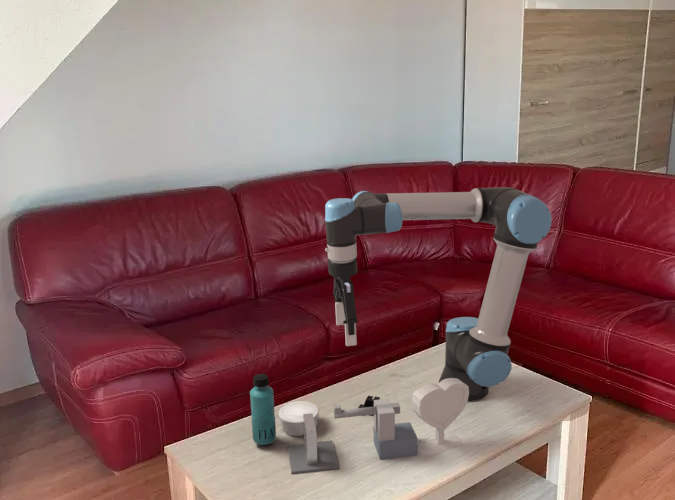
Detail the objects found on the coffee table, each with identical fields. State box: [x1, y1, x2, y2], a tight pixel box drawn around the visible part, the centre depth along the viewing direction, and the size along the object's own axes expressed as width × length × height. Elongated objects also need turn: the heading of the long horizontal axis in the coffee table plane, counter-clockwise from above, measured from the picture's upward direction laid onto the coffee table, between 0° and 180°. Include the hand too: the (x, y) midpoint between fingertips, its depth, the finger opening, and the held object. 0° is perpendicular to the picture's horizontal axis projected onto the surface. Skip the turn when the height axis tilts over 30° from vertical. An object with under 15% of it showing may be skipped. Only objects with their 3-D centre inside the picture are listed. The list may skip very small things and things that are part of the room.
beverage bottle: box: [249, 373, 277, 446], centre depth 178 cm, size 6×7×20 cm
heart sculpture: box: [411, 378, 469, 456], centre depth 176 cm, size 16×5×18 cm, turn 117°
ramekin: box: [278, 400, 320, 437], centre depth 188 cm, size 11×11×5 cm
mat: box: [287, 440, 340, 475], centre depth 174 cm, size 12×12×1 cm
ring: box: [303, 413, 318, 465], centre depth 173 cm, size 2×8×10 cm, turn 9°
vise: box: [333, 398, 419, 460], centre depth 175 cm, size 21×8×14 cm, turn 99°
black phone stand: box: [357, 395, 381, 417], centre depth 195 cm, size 12×7×5 cm, turn 71°
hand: (346, 334), depth 179 cm, fingers open, 13 cm apart
